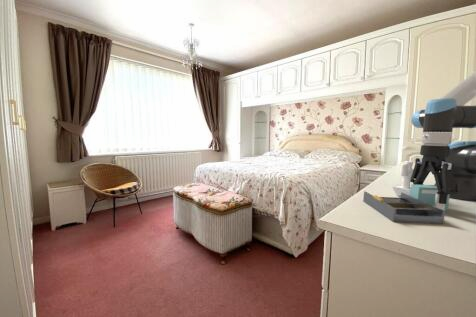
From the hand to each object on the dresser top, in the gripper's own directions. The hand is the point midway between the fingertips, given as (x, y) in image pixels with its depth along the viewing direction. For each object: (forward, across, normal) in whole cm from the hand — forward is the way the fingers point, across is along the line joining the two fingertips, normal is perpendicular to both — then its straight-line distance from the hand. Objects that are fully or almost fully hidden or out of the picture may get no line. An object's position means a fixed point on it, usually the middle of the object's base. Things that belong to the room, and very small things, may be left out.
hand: (427, 207), depth 77 cm
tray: (0, +5, -13) cm, 14 cm away
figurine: (0, -14, +1) cm, 14 cm away
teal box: (0, 0, 0) cm, 0 cm away
